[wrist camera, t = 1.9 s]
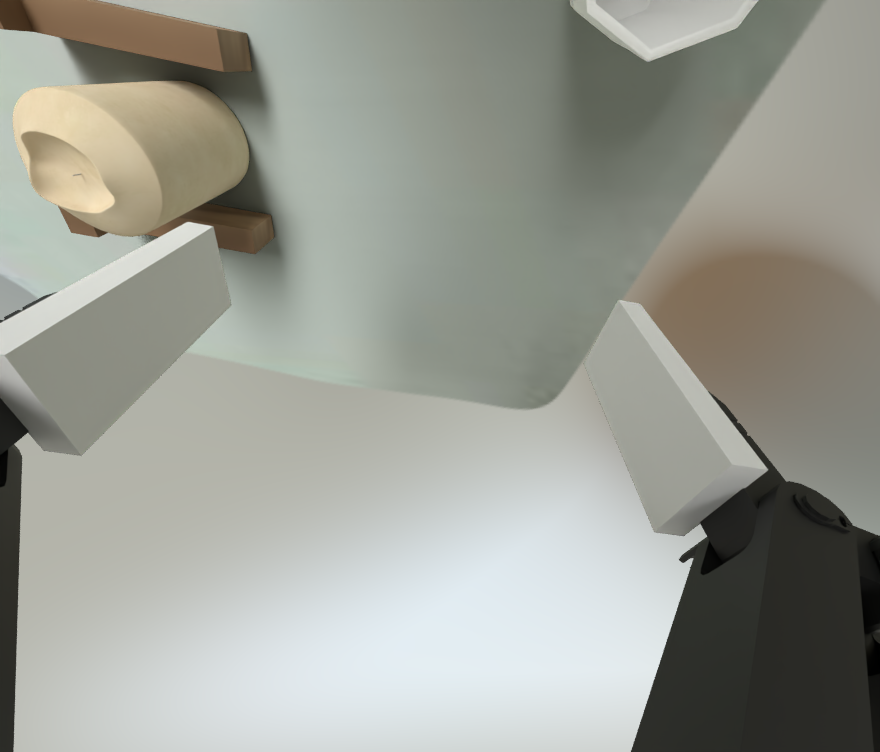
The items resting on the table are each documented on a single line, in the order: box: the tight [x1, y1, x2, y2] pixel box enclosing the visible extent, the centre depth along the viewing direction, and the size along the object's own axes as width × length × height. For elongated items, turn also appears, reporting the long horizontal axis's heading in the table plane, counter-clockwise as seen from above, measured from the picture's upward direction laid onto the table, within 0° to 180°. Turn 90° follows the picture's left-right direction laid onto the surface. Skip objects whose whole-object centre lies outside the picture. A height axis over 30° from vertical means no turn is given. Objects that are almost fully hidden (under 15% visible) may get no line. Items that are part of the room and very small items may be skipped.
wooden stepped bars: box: [0, 0, 274, 254], centre depth 20 cm, size 10×10×4 cm
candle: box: [13, 81, 249, 237], centre depth 18 cm, size 6×6×10 cm
